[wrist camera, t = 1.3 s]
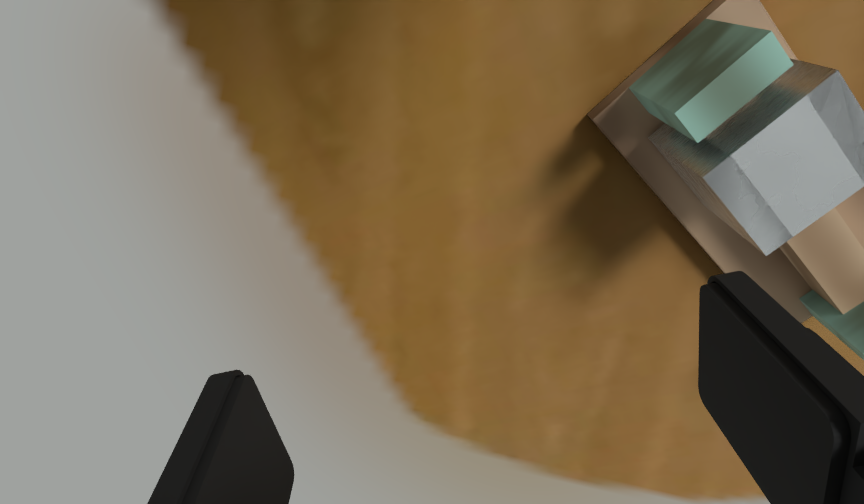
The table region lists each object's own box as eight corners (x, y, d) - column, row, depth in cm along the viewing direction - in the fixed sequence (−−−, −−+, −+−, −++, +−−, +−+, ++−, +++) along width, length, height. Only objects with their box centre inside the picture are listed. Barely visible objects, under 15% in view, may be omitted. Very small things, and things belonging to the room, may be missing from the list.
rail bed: (735, -20, 30) (825, -15, 23) (903, 238, 37) (1005, 295, 31) (586, 114, 33) (629, 151, 26) (770, 327, 40) (838, 395, 34)
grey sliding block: (752, 48, 30) (838, 70, 24) (804, 126, 32) (895, 163, 26) (647, 137, 32) (702, 177, 26) (703, 204, 34) (766, 256, 28)
